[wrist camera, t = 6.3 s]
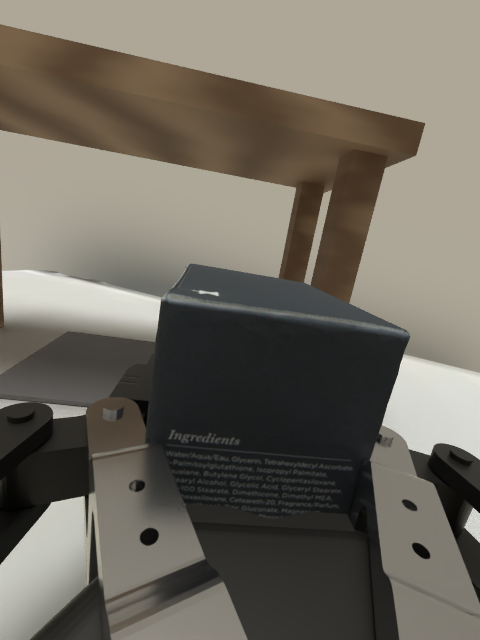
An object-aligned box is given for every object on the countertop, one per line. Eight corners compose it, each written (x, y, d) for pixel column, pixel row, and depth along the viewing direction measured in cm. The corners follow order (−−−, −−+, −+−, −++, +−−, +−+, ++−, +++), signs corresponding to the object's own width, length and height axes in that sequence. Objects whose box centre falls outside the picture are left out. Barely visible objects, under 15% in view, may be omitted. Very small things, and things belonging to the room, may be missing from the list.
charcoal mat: (207, 351, 32) (207, 349, 31) (201, 418, 20) (202, 414, 20) (68, 334, 30) (68, 331, 30) (-25, 395, 18) (-26, 391, 18)
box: (311, 660, 9) (422, 330, 6) (117, 663, 8) (150, 291, 6) (266, 467, 17) (307, 279, 14) (162, 460, 16) (185, 259, 13)
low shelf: (287, 358, 34) (327, 176, 29) (334, 440, 20) (425, 123, 15) (-22, 319, 30) (-36, 103, 25) (-217, 387, 16) (-328, -52, 12)
